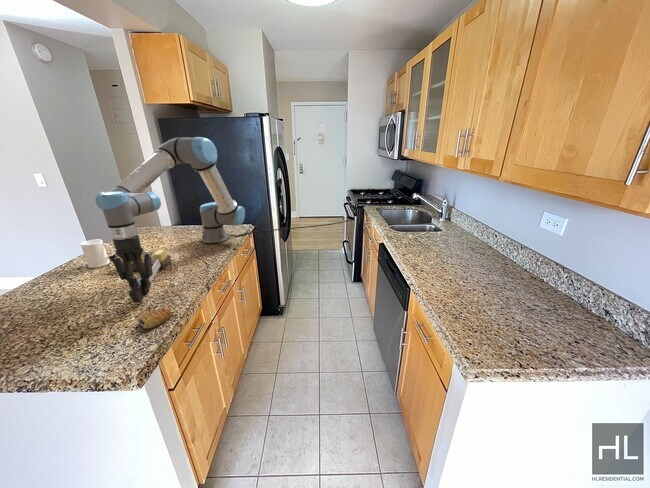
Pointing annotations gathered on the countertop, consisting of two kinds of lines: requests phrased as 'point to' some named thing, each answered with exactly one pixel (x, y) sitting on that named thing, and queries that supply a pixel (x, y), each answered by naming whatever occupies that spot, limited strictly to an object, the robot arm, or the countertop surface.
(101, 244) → the mug
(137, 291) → the butter knife
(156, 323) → the pastry
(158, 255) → the butter slice
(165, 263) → the butter board
